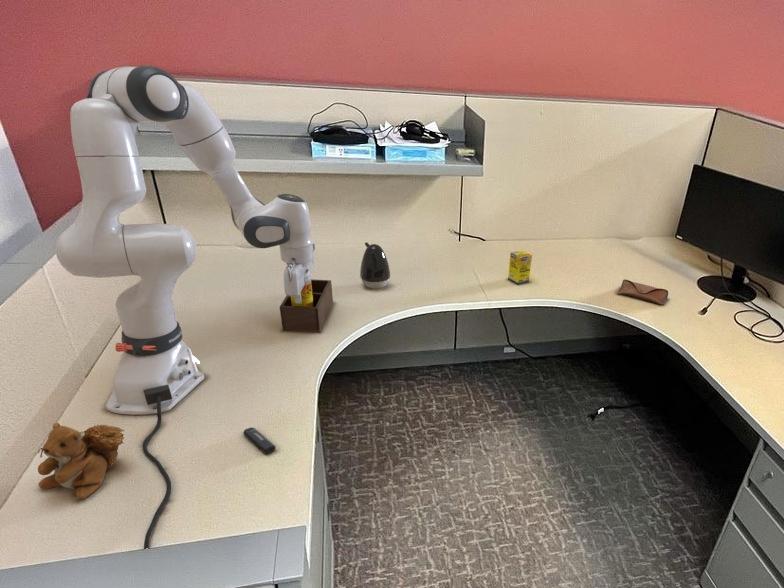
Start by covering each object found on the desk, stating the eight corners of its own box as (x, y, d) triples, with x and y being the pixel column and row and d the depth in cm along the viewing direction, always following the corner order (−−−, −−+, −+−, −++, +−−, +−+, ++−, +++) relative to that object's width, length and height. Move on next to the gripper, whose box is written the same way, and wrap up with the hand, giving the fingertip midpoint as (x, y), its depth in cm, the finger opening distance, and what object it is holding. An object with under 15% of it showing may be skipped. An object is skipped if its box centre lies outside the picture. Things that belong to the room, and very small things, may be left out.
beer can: (308, 323, 166) (303, 276, 159) (289, 319, 167) (283, 272, 160) (318, 314, 172) (314, 268, 164) (299, 311, 172) (294, 265, 165)
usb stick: (277, 450, 122) (276, 444, 121) (265, 455, 120) (264, 450, 119) (254, 430, 127) (253, 424, 126) (242, 435, 125) (241, 429, 124)
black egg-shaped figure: (379, 277, 204) (378, 237, 197) (396, 287, 198) (395, 246, 191) (354, 283, 198) (352, 242, 190) (371, 294, 192) (369, 251, 184)
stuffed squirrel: (34, 490, 106) (9, 436, 99) (105, 447, 118) (86, 395, 111) (72, 507, 104) (49, 452, 97) (141, 461, 115) (124, 409, 108)
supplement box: (517, 285, 210) (520, 257, 204) (507, 279, 214) (510, 252, 208) (529, 281, 214) (532, 254, 208) (519, 276, 217) (521, 249, 212)
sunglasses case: (616, 293, 210) (621, 276, 210) (618, 296, 217) (623, 280, 217) (663, 305, 205) (669, 287, 205) (664, 308, 212) (669, 291, 211)
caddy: (319, 332, 166) (317, 308, 162) (282, 331, 165) (279, 306, 161) (333, 302, 184) (331, 280, 180) (299, 301, 183) (296, 278, 179)
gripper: (300, 267, 151) (304, 313, 158) (315, 241, 168) (319, 283, 175) (275, 266, 150) (281, 312, 157) (294, 239, 167) (298, 282, 174)
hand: (301, 297), depth 166 cm, fingers closed on beer can, 6 cm apart
